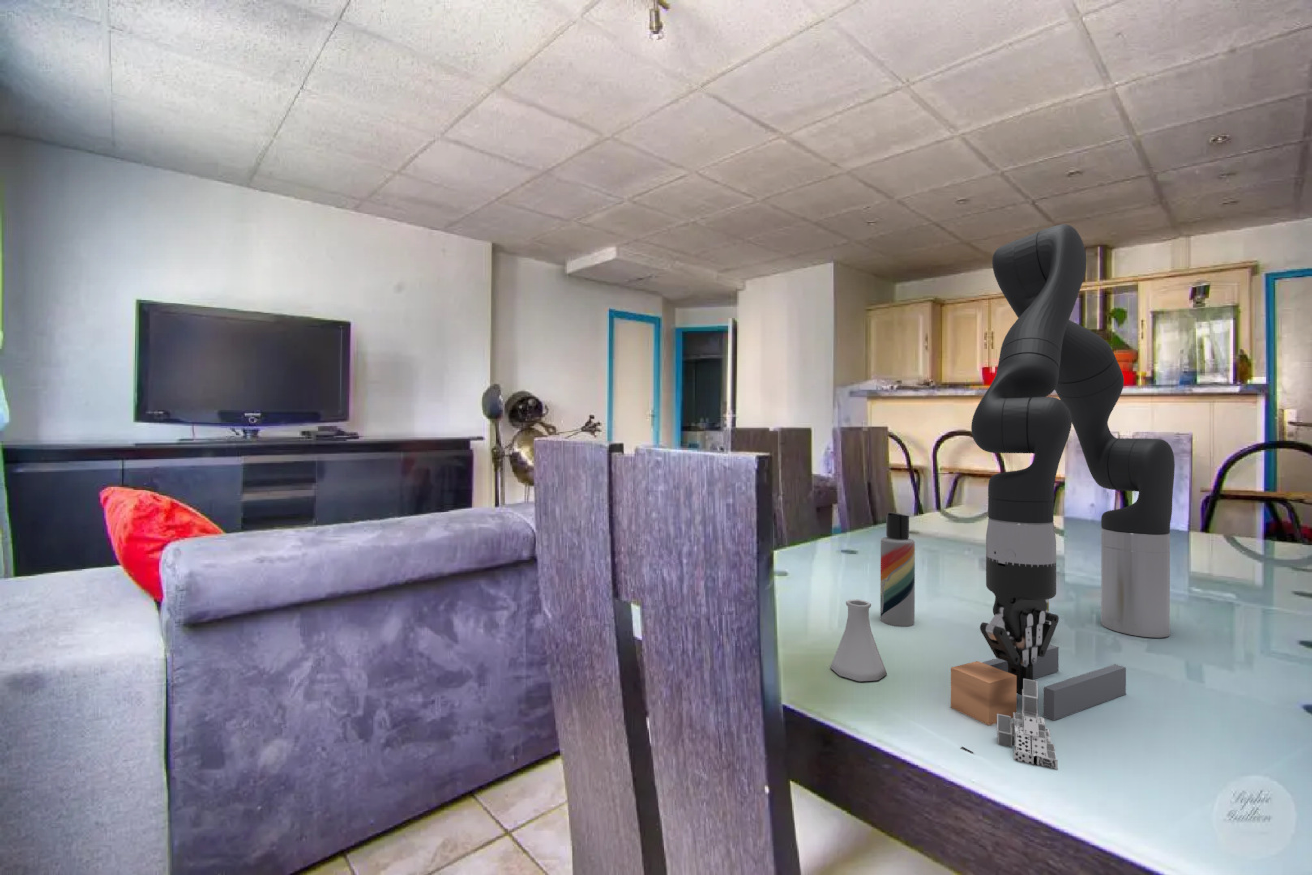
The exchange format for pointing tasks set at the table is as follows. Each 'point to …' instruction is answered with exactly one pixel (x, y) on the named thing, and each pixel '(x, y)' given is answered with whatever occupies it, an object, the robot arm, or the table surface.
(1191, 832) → the table surface
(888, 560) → the lotion bottle
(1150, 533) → the robot arm
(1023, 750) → the house of cards
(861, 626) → the flask
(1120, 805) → the table surface
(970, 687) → the terracotta block
